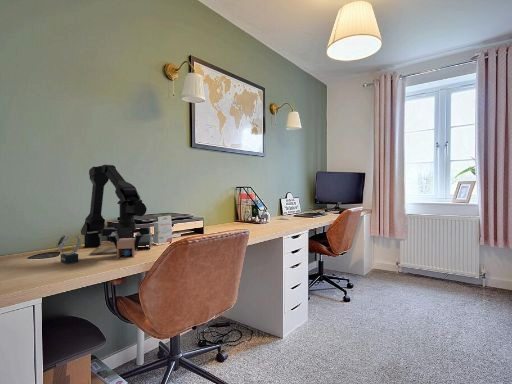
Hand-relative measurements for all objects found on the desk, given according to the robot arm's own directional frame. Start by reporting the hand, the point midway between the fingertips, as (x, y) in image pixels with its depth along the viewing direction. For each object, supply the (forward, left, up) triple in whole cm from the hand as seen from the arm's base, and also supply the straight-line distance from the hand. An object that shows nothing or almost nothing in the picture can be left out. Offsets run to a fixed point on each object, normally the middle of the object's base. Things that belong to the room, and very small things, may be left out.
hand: (126, 251), depth 124 cm
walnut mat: (-10, +10, -2) cm, 14 cm away
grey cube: (+5, +14, -2) cm, 15 cm away
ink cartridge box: (+13, +24, -2) cm, 27 cm away
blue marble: (0, 0, 0) cm, 0 cm away
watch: (-20, -6, -2) cm, 21 cm away
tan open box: (0, 0, -2) cm, 2 cm away
